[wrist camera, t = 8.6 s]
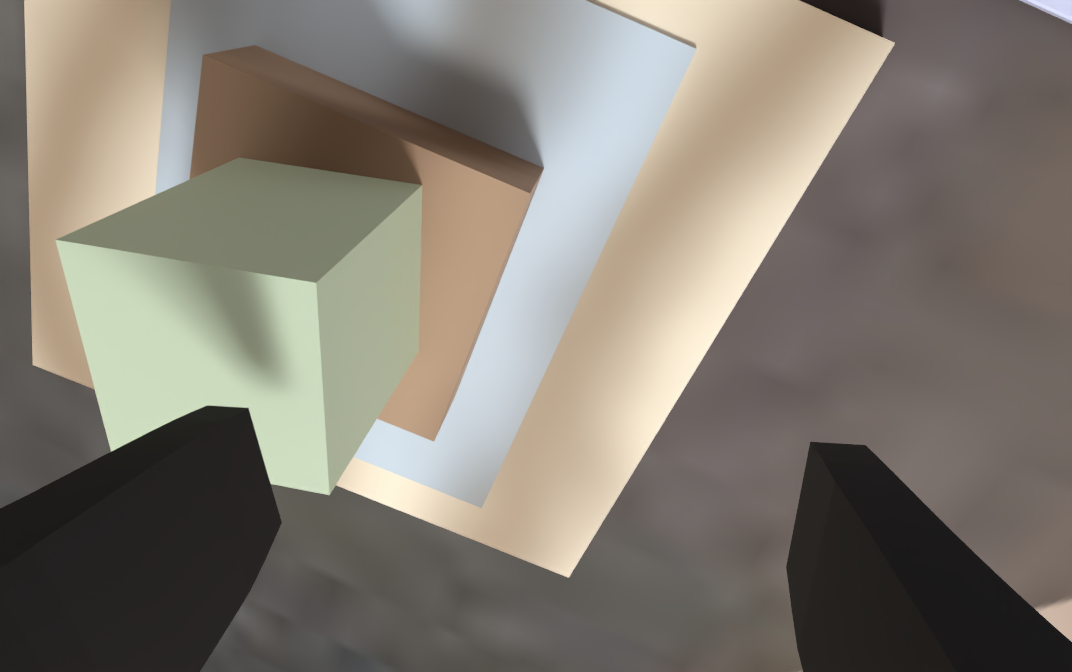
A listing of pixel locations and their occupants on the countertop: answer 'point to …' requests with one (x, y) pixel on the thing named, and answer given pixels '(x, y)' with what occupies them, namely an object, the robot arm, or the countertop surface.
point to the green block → (254, 308)
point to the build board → (633, 293)
